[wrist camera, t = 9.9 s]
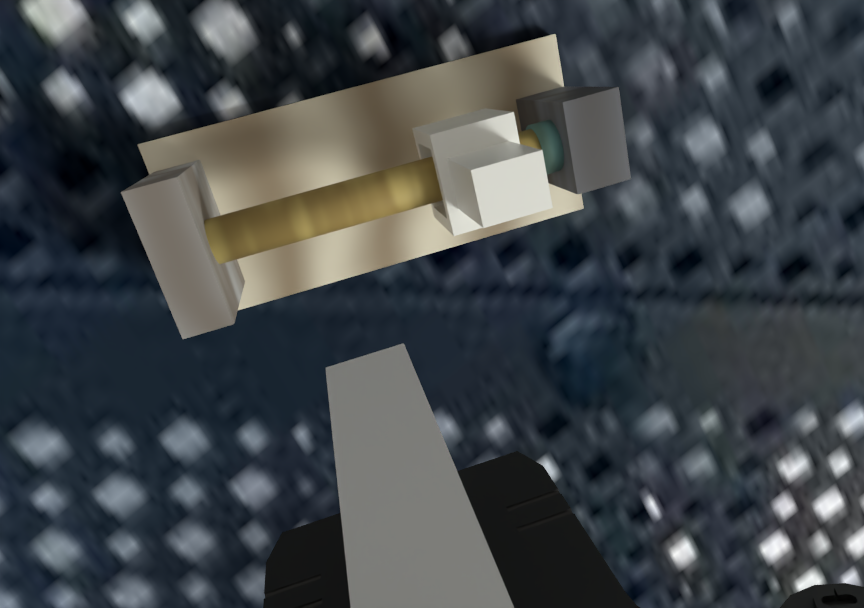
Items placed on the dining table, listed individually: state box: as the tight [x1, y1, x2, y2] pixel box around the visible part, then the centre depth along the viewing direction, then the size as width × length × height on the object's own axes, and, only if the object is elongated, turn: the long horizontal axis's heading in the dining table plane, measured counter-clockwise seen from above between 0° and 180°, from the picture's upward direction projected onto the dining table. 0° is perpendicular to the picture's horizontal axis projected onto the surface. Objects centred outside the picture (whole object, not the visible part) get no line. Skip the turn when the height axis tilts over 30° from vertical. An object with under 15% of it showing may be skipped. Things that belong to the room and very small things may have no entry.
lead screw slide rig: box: [121, 34, 631, 339], centre depth 33 cm, size 23×10×8 cm, turn 104°
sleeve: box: [412, 108, 553, 236], centre depth 30 cm, size 4×5×9 cm
